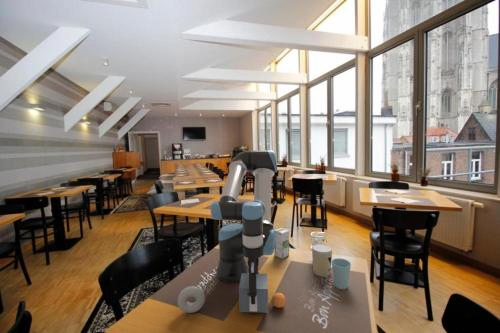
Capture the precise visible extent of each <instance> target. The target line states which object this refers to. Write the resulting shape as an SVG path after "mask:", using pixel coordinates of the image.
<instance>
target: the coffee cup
mask: <svg viewBox="0 0 500 333" xmlns="http://www.w3.org/2000/svg"><path fill="white" fill-rule="evenodd" d="M311 252H312V253H311V255H312V256H311V257H312V269H313V273H314V274H315V275H316V276H319V277H328V276H330V275H331V270H332V260H333V259H332V255H333V248H332V247H331V245H327V244H324V243H323V244H316V245H314V246H313V247H312V250H311Z"/></svg>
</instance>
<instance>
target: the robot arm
mask: <svg viewBox="0 0 500 333" xmlns="http://www.w3.org/2000/svg"><path fill="white" fill-rule="evenodd" d="M249 172H250V173H252V175H253V176H254V191H253V200H252V201H238V200H239V196H240V191H241V187H242V183H243V180H244V177H245V175H246V174H247V173H249ZM277 172H278V165H277V155H276V152H275V151H274V150H271V149H270V150H269V149H266V150H258V149H257V150H244V151H242V152H239V153H238V154H237V155H236V156H234V157H233V158H232V159H231V161H230V163H229V166H228V174H227V177H226V180H225V184H224V186H223V188H222V193H221V195H220V198H219V200H217V201H213V202H212V203H211V205H210V215H211V218H212V219H213V220H217V221H219V220H220V221H242V222H241V223H242V224H241V223H230V224H227V225H225V226H222V227H221V228H220V229H219V231H218V250H219V253H218V254H219V260H218V265H217V268H216V270H215V272H216V278H217V279H218V280H219V281H221V282H224V283H237V282H239V283H240V280H241V274H242V273H249V293H247V295H249V306H250V311H254V312H253V313H258V312H257V292H256V275H257V274H260V272H259V263H260V262H259V261H260V260H259V259H260V258H261V257H264V256H272V255H273V254H274V253H275V242H276V233H277V231H276V230H277V229H276V228H275V227H274V224H273V223H272V222H271V216H272V215H271V212H272V206H271V205H272V178H273V177H274V176H275V173H277ZM246 258H247V261H246Z"/></svg>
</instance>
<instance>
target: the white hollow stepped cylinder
mask: <svg viewBox="0 0 500 333" xmlns="http://www.w3.org/2000/svg"><path fill="white" fill-rule="evenodd" d="M319 235H321V236H319ZM325 236H326V232H324V231H312V232H311V233H310V237H311V246H310V250H311V251H312V247H313V246H314V245H316V244H324V240H325V239H326V237H325Z"/></svg>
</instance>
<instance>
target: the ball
mask: <svg viewBox="0 0 500 333" xmlns="http://www.w3.org/2000/svg"><path fill="white" fill-rule="evenodd" d="M271 301H272V304H273V305H274V306H275V307H276V308H283V307H284V305H286V297H285V295H284V294H283V293H281V292H276V293H274V294H273V295H272V299H271Z"/></svg>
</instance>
